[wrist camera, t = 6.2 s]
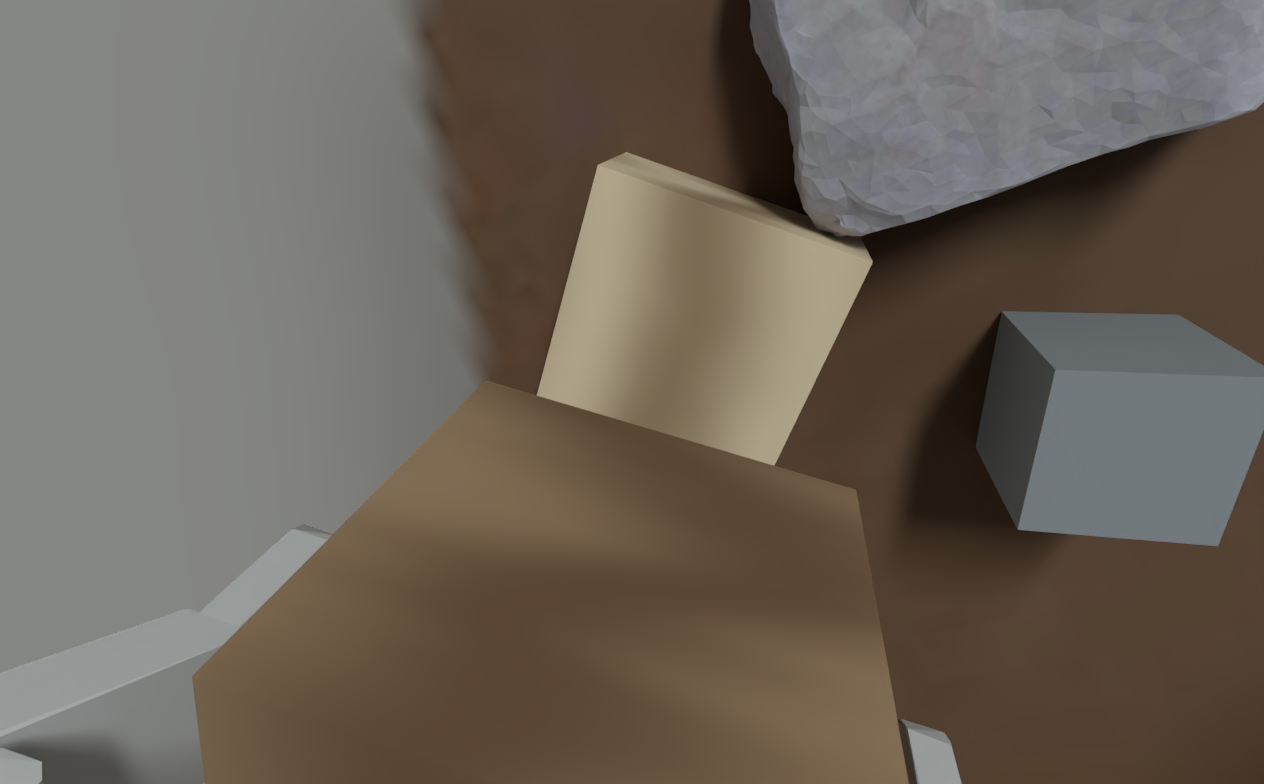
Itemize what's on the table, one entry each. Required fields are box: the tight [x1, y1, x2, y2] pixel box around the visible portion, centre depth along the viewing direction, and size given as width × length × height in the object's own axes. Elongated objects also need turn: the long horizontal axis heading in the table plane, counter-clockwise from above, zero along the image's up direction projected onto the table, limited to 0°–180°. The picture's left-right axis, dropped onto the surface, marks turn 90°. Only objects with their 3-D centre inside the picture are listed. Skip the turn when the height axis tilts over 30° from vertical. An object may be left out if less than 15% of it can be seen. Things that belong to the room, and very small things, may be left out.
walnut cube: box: [192, 381, 909, 784], centre depth 8 cm, size 5×5×5 cm
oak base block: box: [537, 152, 873, 466], centre depth 22 cm, size 8×8×4 cm
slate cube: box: [975, 311, 1264, 546], centre depth 20 cm, size 5×5×5 cm
